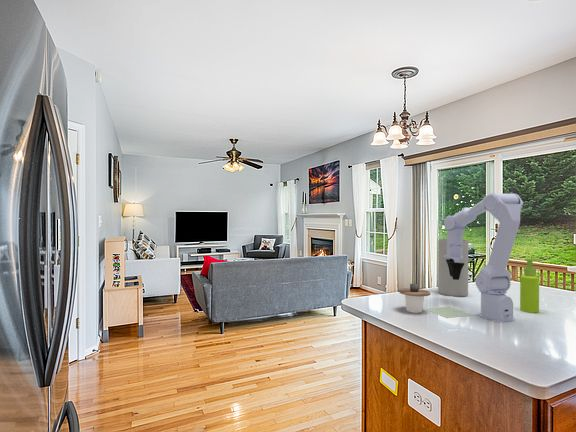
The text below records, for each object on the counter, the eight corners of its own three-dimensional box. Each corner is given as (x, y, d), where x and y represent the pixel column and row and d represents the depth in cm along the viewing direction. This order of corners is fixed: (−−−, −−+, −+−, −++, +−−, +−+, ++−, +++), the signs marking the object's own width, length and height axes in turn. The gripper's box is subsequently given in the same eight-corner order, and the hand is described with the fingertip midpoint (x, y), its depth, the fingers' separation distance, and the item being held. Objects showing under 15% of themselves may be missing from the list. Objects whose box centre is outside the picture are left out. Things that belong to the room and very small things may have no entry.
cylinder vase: (474, 295, 153) (474, 240, 153) (453, 298, 149) (454, 241, 149) (451, 290, 165) (452, 238, 165) (432, 292, 160) (432, 239, 160)
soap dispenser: (545, 313, 126) (545, 259, 126) (524, 312, 127) (524, 259, 127) (537, 309, 132) (537, 257, 132) (517, 308, 133) (517, 257, 133)
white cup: (427, 314, 124) (427, 295, 124) (408, 314, 124) (408, 294, 124) (420, 309, 131) (420, 291, 131) (402, 308, 131) (402, 290, 131)
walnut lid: (436, 295, 124) (436, 286, 124) (411, 297, 120) (411, 288, 120) (417, 289, 134) (417, 281, 134) (393, 290, 131) (393, 282, 131)
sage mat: (474, 316, 122) (474, 315, 122) (446, 318, 118) (446, 317, 118) (449, 307, 133) (449, 306, 133) (423, 309, 130) (423, 308, 130)
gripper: (442, 243, 148) (441, 274, 148) (446, 246, 134) (446, 280, 134) (459, 243, 146) (459, 275, 146) (466, 246, 132) (465, 281, 132)
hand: (454, 278), depth 140 cm, fingers open, 7 cm apart
